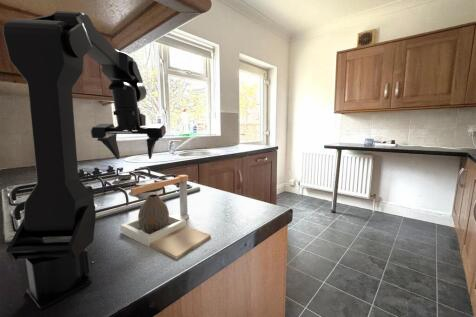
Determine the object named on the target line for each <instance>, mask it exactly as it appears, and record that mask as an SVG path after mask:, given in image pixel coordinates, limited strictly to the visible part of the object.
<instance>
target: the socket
mask: <svg viewBox="0 0 476 317" xmlns="http://www.w3.org/2000/svg"><path fill="white" fill-rule="evenodd" d="M178 187H179V188H178V189H179V213H176V214H174V215H173V214H170V213H169V221H168V225H167V226H166V227H165V228H163V229H161V230H158V231H156V232H154V233H152V234H148V233H146V232H144V231H143V230H140V229H139V228H141V227H140V225H139V221H138V218H135V219H132V220H130V221H127V222H124V223H122V224H120V233H121V235H124V236H127V237H128V238H130V239H132V240H134V241H136V242H138V243H140V244H142V245H144V246H146V247H151V246H150V243H152V242H154V241H156V240H158V239H160V238H162V237H164V236H166V235H168V234H170V233H172V232H174V231H176V230H178V229H180V228H182V227H184V226H187V220H186V219H188V218H190V214H188V181H186V182H179V186H178Z"/></svg>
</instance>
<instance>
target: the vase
mask: <svg viewBox="0 0 476 317" xmlns="http://www.w3.org/2000/svg"><path fill="white" fill-rule="evenodd" d="M169 214H170V213H169V208H168V205H167V204H166V203H165V202H164V201H163V200H162V199H161V197H160V195H159V194H156V193H155V194H154V193H153V194H148V195H147V197H146V199H145V201H144V202H143V204H142V205H141V207H140V208H139V211H138V216H137V219H138V221H139V225H140V227H139V228H140V229H141V231H143V232H145V233H147V234H149V235H150V234H152V233H154V232H156V231H158V230H161V229H163V228H165V227H167V226H168V225H169V223H168V221H169Z"/></svg>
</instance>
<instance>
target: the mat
mask: <svg viewBox="0 0 476 317" xmlns="http://www.w3.org/2000/svg"><path fill="white" fill-rule="evenodd" d="M211 237H212V235H211V234H209V233H206V232H203V231H201V230H198V229H195V228H193V227H191V226H187V225H186V226H184V227H182V228H180V229H178V230H176V231H174V232H172V233H170V234H168V235H166V236H164V237H162V238H160V239H158V240H156V241H154V242H152V243H150V246H149V247H150V248H153V249H154V250H157V251H159V252H161V253H163V254H165V255H167V256H169V257H171V258H173V259H175V260H179V259H180V258H181V257H183V256H184V255H186V254H187V253H188V252H190V251H192V250H193V249H195V248H196V247H198V246H200V245H201V244H202V243H205V242H206V241H207V240H209V239H210V238H211Z"/></svg>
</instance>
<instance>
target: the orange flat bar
mask: <svg viewBox="0 0 476 317" xmlns="http://www.w3.org/2000/svg"><path fill="white" fill-rule="evenodd" d="M186 181H187V182H189V175H187V174H179V175H177V176H176V177H172V178H168V179H164V180H160V181H156V182H150V183H148V184H143V185H140V186H134V187H131V188H130V194H131V195H138V194H142V193H145V192H150V191H153V190H156V189H159V188H164V187H168V186H171V185H175V184H178V183H179V182H186Z"/></svg>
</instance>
